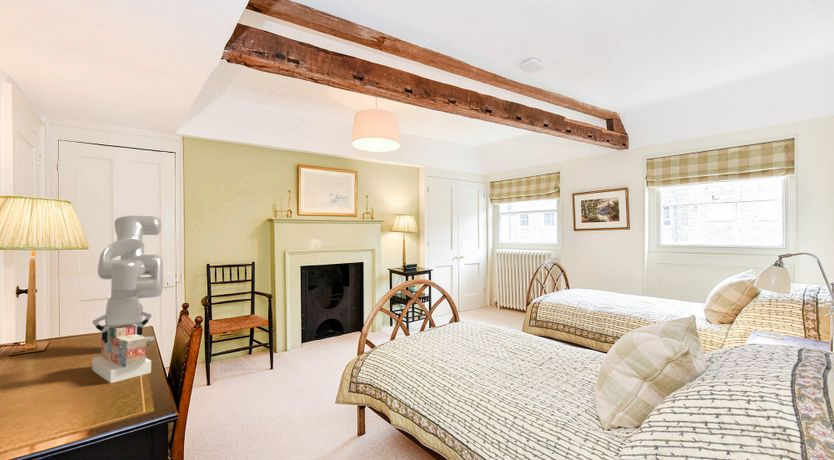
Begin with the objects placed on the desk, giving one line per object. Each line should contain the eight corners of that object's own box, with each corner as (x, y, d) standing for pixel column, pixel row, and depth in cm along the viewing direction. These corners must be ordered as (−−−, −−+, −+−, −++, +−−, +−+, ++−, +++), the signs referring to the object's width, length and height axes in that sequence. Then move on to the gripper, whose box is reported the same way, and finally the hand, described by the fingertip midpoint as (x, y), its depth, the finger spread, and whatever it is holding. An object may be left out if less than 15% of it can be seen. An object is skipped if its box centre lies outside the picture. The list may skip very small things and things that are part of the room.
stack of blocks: (146, 362, 134) (147, 329, 134) (125, 367, 128) (127, 333, 129) (119, 352, 145) (121, 321, 145) (100, 356, 139) (101, 324, 139)
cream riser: (130, 362, 147) (130, 350, 147) (150, 374, 136) (151, 360, 136) (92, 371, 137) (92, 358, 137) (110, 384, 126) (111, 370, 126)
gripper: (150, 291, 146) (149, 333, 146) (92, 295, 134) (91, 341, 134) (153, 293, 140) (152, 337, 140) (93, 298, 128) (92, 346, 128)
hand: (122, 339), depth 137 cm, fingers open, 9 cm apart
